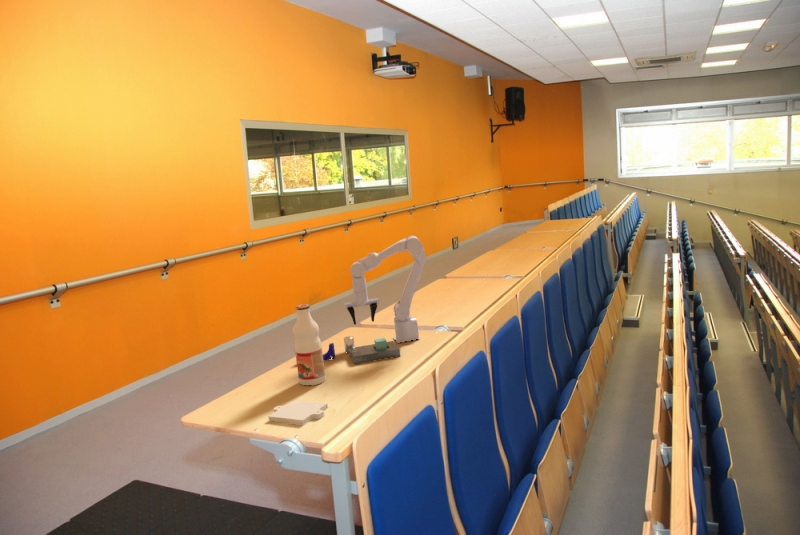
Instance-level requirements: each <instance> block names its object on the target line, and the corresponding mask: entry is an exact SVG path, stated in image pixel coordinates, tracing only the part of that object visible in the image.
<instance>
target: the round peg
mask: <svg viewBox="0 0 800 535" xmlns="http://www.w3.org/2000/svg"><path fill="white" fill-rule="evenodd" d="M354 338H355V337H354V336H350V335H349V336H345V337H344V338H343V343H344V350H345V351H344V352H347V353H346V354H350V353H349V348H354V347H356V346H355V340H354Z"/></svg>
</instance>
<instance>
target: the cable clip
mask: <svg viewBox="0 0 800 535" xmlns="http://www.w3.org/2000/svg"><path fill="white" fill-rule="evenodd" d="M322 354H323V353H322ZM331 357H333V358H332V359H334V360H335V359H336V351H335V344H334V342H332V343H329V345H328V350H327V352H326V353H324V354H323V361H330V360H329V359H331Z"/></svg>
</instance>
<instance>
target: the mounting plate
mask: <svg viewBox="0 0 800 535" xmlns="http://www.w3.org/2000/svg"><path fill="white" fill-rule="evenodd" d="M328 408H329V406H328V402H316V401H307V400H306V401H305V400H295V399H294V400H291V401H290V402H289V403H287V404H286V405H276V406H275V407H273V413H271V414H270V415H268V421H269V420H270V421H269V422H273V421H275V422H276V423H283V424H291V425H297V426H305V425H306V424H307V423H309V422H310V421H312V420H314V419H316V420H321V419H323V418H324V417H325V412H324V411H325V410H327V409H328ZM275 422H274V423H275Z"/></svg>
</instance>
